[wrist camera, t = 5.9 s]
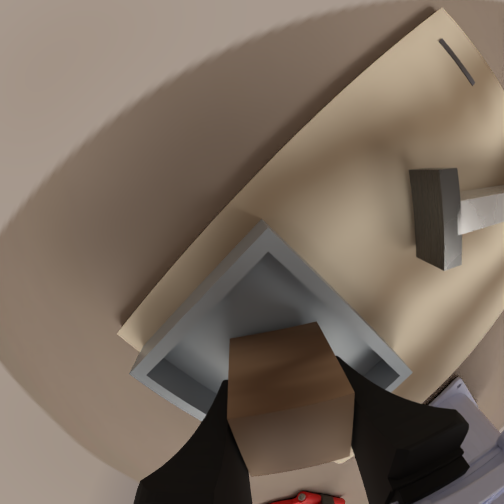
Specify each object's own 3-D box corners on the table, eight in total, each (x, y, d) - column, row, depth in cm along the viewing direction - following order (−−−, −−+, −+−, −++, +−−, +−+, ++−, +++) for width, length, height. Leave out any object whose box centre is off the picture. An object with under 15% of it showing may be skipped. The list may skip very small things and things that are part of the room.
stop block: (316, 321, 12) (354, 392, 8) (321, 384, 13) (349, 456, 9) (229, 338, 12) (227, 419, 8) (246, 399, 13) (251, 476, 9)
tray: (393, 349, 15) (412, 372, 12) (285, 435, 16) (290, 463, 13) (261, 218, 12) (267, 228, 10) (143, 346, 14) (129, 373, 11)
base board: (546, 215, 14) (553, 216, 13) (338, 457, 18) (341, 465, 17) (436, 11, 10) (442, 6, 9) (121, 326, 14) (116, 334, 13)
